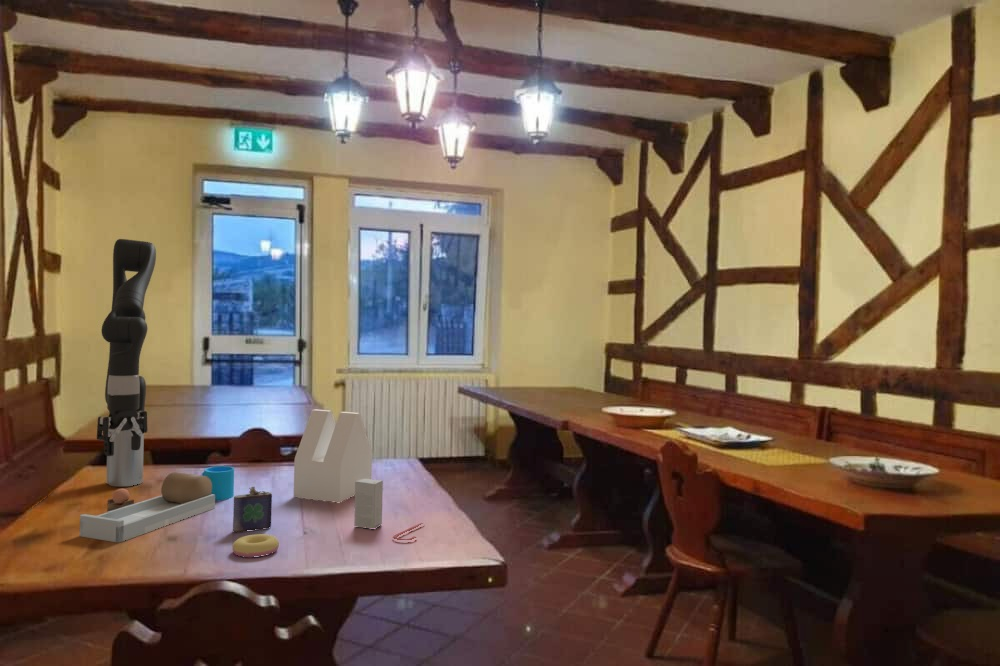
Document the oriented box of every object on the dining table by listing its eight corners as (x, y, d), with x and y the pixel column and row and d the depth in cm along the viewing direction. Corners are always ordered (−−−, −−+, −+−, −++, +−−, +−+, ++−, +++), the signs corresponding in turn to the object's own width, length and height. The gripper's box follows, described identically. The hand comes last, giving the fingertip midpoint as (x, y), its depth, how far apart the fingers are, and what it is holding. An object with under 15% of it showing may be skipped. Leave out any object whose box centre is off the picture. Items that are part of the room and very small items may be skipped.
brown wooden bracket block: (107, 512, 187) (107, 499, 187) (116, 509, 190) (116, 497, 190) (124, 515, 185) (125, 502, 185) (134, 512, 188) (134, 499, 188)
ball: (108, 504, 186) (108, 489, 186) (121, 500, 190) (121, 486, 190) (120, 506, 185) (120, 491, 185) (132, 502, 189) (133, 487, 189)
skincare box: (382, 526, 184) (383, 480, 184) (374, 530, 180) (375, 484, 179) (361, 523, 186) (363, 477, 186) (353, 527, 182) (354, 481, 181)
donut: (233, 558, 164) (235, 565, 155) (230, 538, 164) (232, 544, 155) (277, 546, 168) (282, 553, 159) (274, 527, 168) (279, 533, 159)
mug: (239, 496, 208) (240, 468, 208) (216, 502, 201) (216, 473, 201) (212, 490, 214) (213, 463, 214) (188, 495, 207) (189, 467, 207)
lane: (79, 536, 168) (80, 496, 168) (179, 503, 198) (180, 469, 198) (119, 542, 164) (119, 501, 164) (214, 508, 195) (215, 473, 194)
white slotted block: (339, 503, 204) (341, 417, 203) (293, 497, 209) (295, 413, 208) (371, 488, 222) (373, 409, 222) (328, 483, 227) (330, 406, 226)
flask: (233, 533, 174) (234, 490, 173) (231, 530, 176) (232, 487, 176) (272, 529, 178) (273, 486, 178) (269, 525, 181) (270, 484, 181)
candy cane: (440, 531, 183) (440, 525, 183) (408, 547, 170) (408, 541, 170) (420, 527, 186) (420, 522, 186) (387, 542, 172) (387, 536, 172)
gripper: (133, 388, 195) (132, 447, 195) (89, 393, 181) (88, 456, 182) (155, 390, 193) (154, 449, 193) (112, 395, 179) (111, 459, 179)
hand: (122, 452), depth 187 cm, fingers open, 8 cm apart
